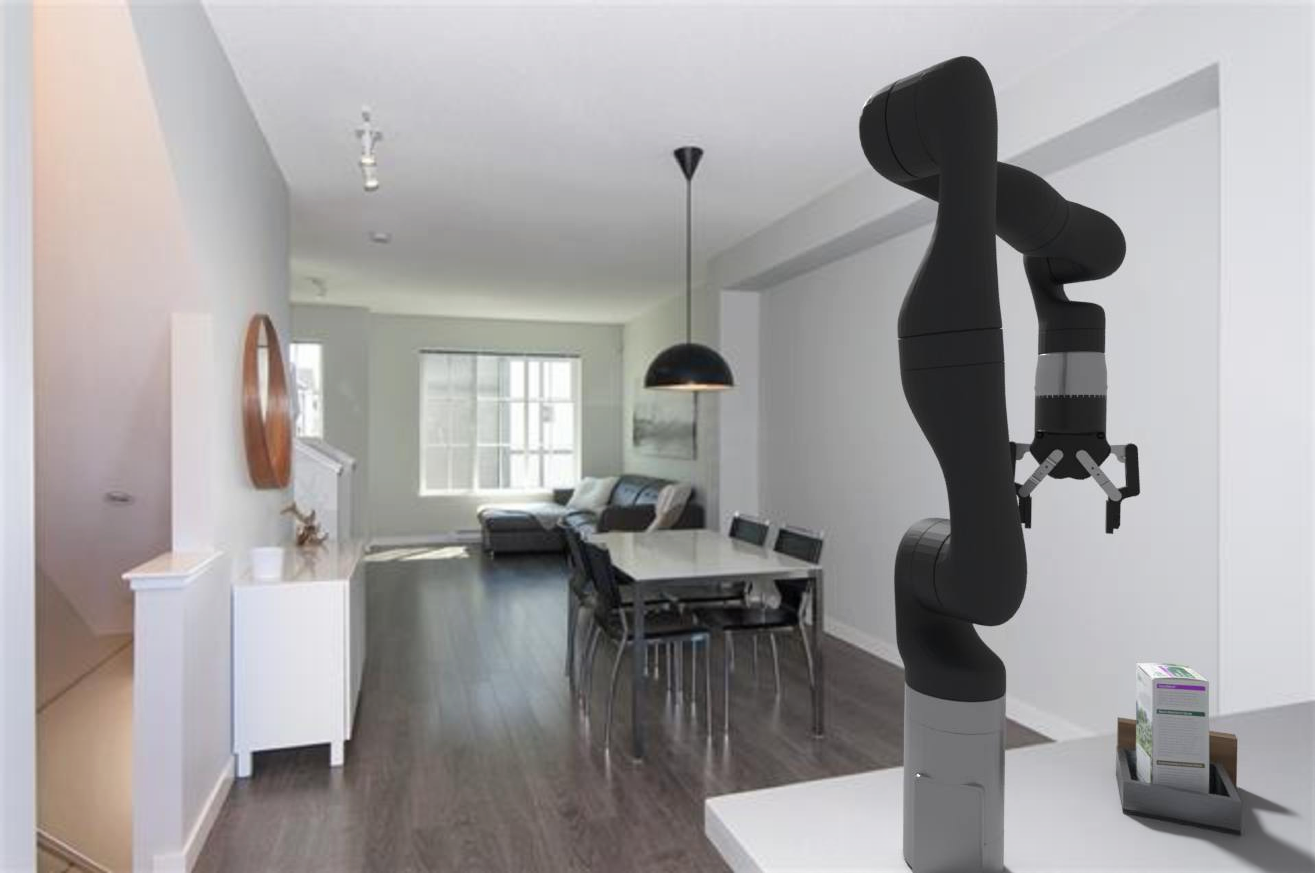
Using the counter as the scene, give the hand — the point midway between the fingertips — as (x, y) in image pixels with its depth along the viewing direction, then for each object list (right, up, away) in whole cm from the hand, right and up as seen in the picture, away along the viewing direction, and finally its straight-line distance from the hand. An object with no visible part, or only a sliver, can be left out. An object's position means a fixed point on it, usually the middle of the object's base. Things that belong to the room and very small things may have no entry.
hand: (1068, 530), depth 94 cm
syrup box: (+9, -30, -4) cm, 32 cm away
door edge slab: (+14, -30, +2) cm, 33 cm away
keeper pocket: (+10, -30, -4) cm, 32 cm away
